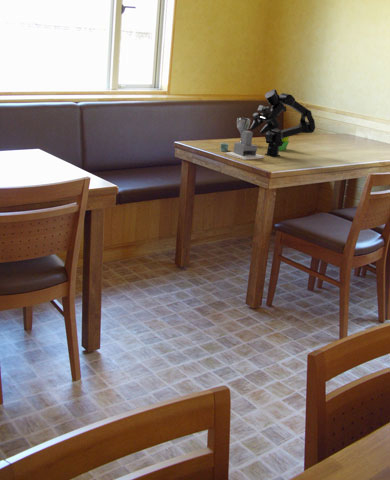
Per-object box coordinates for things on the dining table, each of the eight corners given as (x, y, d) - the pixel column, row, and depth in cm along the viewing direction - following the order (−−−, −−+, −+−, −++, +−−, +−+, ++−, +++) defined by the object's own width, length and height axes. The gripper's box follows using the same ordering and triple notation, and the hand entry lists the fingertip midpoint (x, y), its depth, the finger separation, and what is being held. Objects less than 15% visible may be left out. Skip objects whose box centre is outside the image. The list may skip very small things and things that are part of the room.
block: (227, 150, 346) (228, 143, 344) (227, 151, 342) (228, 144, 340) (220, 149, 345) (221, 142, 344) (220, 151, 342) (221, 144, 340)
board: (245, 152, 344) (245, 150, 344) (263, 157, 335) (264, 156, 335) (225, 154, 334) (225, 152, 333) (244, 159, 324) (244, 158, 324)
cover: (246, 152, 340) (249, 130, 336) (256, 156, 333) (259, 133, 328) (233, 152, 335) (236, 129, 331) (242, 156, 328) (245, 133, 324)
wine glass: (235, 141, 375) (238, 117, 370) (248, 143, 374) (251, 118, 369) (233, 143, 368) (236, 118, 363) (246, 145, 367) (249, 120, 362)
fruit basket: (276, 147, 372) (279, 128, 368) (290, 149, 368) (293, 131, 364) (269, 149, 362) (272, 130, 358) (283, 152, 358) (286, 132, 354)
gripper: (257, 97, 337) (238, 117, 335) (278, 103, 322) (258, 123, 320) (266, 112, 344) (248, 132, 342) (287, 118, 329) (268, 138, 327)
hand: (255, 131), depth 332 cm, fingers open, 9 cm apart
